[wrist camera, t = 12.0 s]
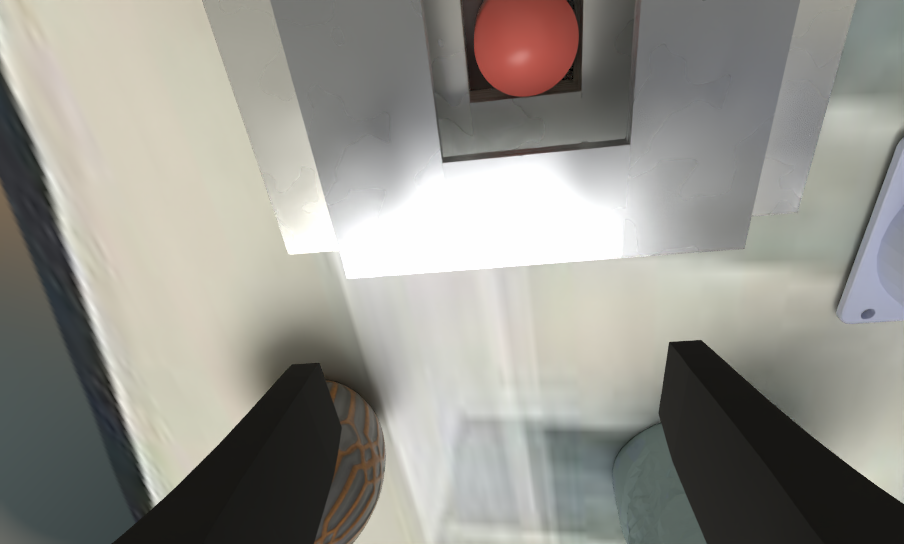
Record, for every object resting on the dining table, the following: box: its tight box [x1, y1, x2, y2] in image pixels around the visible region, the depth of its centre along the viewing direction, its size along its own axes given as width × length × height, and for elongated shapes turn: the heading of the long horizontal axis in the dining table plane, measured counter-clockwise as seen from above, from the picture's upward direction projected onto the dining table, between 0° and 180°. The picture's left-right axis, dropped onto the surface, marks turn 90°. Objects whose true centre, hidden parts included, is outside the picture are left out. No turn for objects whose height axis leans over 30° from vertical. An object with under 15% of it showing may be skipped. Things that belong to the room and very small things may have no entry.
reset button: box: [474, 0, 579, 97], centre depth 15 cm, size 3×3×2 cm
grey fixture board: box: [202, 0, 857, 279], centre depth 14 cm, size 18×13×4 cm
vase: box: [314, 380, 386, 544], centre depth 22 cm, size 7×7×9 cm
